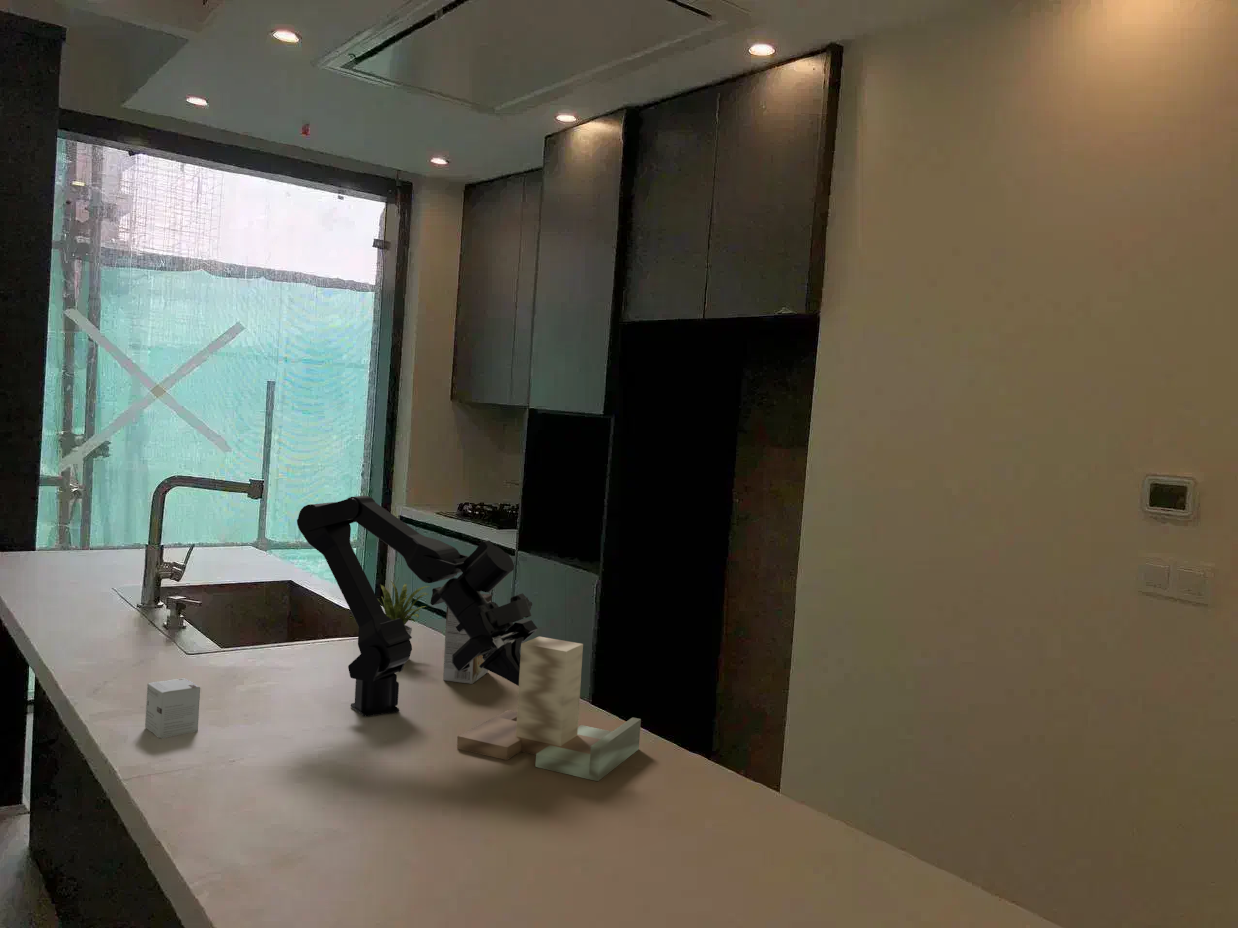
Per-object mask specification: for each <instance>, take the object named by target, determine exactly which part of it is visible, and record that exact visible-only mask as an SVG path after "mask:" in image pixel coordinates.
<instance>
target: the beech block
mask: <svg viewBox="0 0 1238 928" xmlns="http://www.w3.org/2000/svg"><path fill="white" fill-rule="evenodd" d="M583 648H584V643H581V642H574V641H568V640H561V639H557V638H550V637H544V636H540V635H539V636H537V637H534V638H531V639H529V640H525V641H524V642H523V643H521V647H520V655H521V657H520V673H519V686H518V693H517V706H516V707H517V709H516V711H517V723H516V737H521V738H525V739H530V740H534V741H539V742H543V743H548V744H552V745H557V746H562V745H563V744H565V743H566V742H568V741H569V740H571V739H573V738H574V737H576V736H577V733H578V724H579V715H580V702H581V701H580V698H581V685H582V683H581V681H582V670H583V669H582V665H583V652H584V651H583V650H584V649H583Z"/></svg>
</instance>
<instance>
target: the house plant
mask: <svg viewBox="0 0 1238 928" xmlns="http://www.w3.org/2000/svg"><path fill="white" fill-rule="evenodd" d="M390 582H391V585H392V586H393V589H394V598H395V600H394V602H395V603H394V604H393V600H392V594H391V593H390V592H389V591H388V590H387V589H386V587H385V586H384V585H383V584H379V585H380V588H381V590H382V593H383V596H382V595H381V599H382V602H383V604H382V602H381V601H380V600H378V601H379V603H380V604H381V607H382V609H383V611H384V613H385V614H386V615H387V616H388V617H389V618H390V619H392V620H395V619H398V618H401V620H402V621H403V623H404V626H405V629H406V631H407V632H408V634H409V635H410V636H411V637H412V631H413V627H412V626H409V625H407V623H408V622H409V621H410V622H414V623H416V622H415V621H416V620H415V619H414V618H412V617H413V616H414V617H416V618H419V617H420V615H419V614H420V610H421V609H422V608H425V607H427V606H426V605H425V606H420V607H418V608H416V609H414V608H413V607H414V605H415V604H416V602H418V600H420V599H421V598H422V597H423V596H427V595H429V592H421V590H423V589H426V588H429V587H430V585H427V586H426V585H425V586H421V587H419V588H417V589H416V590H415V591H413V592H412V593H411V594H409V593H407V592H408V588H407V585H408V584H407V583H404V584H403V586H402V589H401V592H400V594H399V591H398V589H397V587H396V585H395V584H394V582H393V581H392V580H391V579H390ZM419 592H420V593H419ZM417 593H418V594H417ZM408 595H409V596H408ZM415 595H416V596H415ZM417 596H418V597H417ZM414 599H415V600H414ZM405 601H406V602H405ZM410 604H411V605H410ZM408 607H409V608H408ZM412 611H413V612H412ZM410 612H411V613H410ZM416 612H418V613H416ZM409 613H410V614H409ZM408 614H409V615H408ZM409 640H411V639H409Z"/></svg>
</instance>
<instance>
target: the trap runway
mask: <svg viewBox="0 0 1238 928" xmlns="http://www.w3.org/2000/svg"><path fill="white" fill-rule="evenodd" d="M516 723H517V710H511V709H507V710H506V711H503V712H502V713H500V714H497V715H495V716H493V717H492V718H490V719H488V720H486V721H484V722H482V723H479V724H478V725H476V726H475V727H473V728H471V729H469V730H467V731H464V732H462V733H460V734H459V735H458V736H457V744H456V749H457V750H460V751H465V752H471V753H474V754H475V753H476V754H479V755H483V756H488V757H492V758H497V759H500V760H501V759H502V760H504V761H508V760H509V759H511V758H513V757H515V756H516V755H518V754H520V752H523V753H526V754H532V755H535V764H534V765H535V766H534V767H536V768H539V769H544V770H547V771H548V770H549V771H552V772H557V773H559V774H560V773H561V774H564V775H569V776H574V777H577V778H582V779H587V780H591V781H595V782H600V780H602V779H603V778H604V777H606V776H607V775H608V774H609V773H611V772H612V771H613V770H614V769H616V768H617V767H618V766H619V765H621V764H622V763H623V762H625V761H626V760H627V759H628V758H630V757H631V756H632V755H633V754H635V753H636V752H637V751H639V750H640V740H641V724H642V719H641V718H637V717H631V718H629V719H628V720H627V721H625V722H624V723H622V724H620V726H618V727H616V728H615V729H614V730H612V731H611V730H607V729H603V728H602V729H601V728H598V727H597V728H596V727H592V726H587V725H583V724H579V723H578V733H577V736H576V737H574V738H573V739H571V740H569V741H568V742H566V743H565V744H563V745H562V746H557V745H552V744H548V743H543V742H539V741H534V740H530V739H525V738H521V737H516Z"/></svg>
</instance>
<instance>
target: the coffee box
mask: <svg viewBox="0 0 1238 928" xmlns="http://www.w3.org/2000/svg"><path fill="white" fill-rule="evenodd" d="M481 594H482V596H483V597H484V598H485V600H486V601H487V602H488V603H490V602H493V601H492V600H493V594H487V593H481ZM445 616H446V618H445V637H444V653H443V654H444V655H443V657H444V658H443V674H442V675H443V676H442V678H443V679H442V680H443V681H447V682H455V683H463V684H470V685H472V684H474V683H475V682H477V681H478V680H480V679H481V678H482V677H483V676H485V675H486V674H488V672H489V670H487V669H485V668H480V667H479V666H480V665H481V664H482V663H483V662H484V660H483V658H482V657H483V656H482V655H480V656H478V657H475V658H474V659H473V660H472V661H471V662H470V667H469V668H468V669H466V670H464V671H461V672H459V673H458V671H457V670H456V668H455V667H454V666H453V664H452V655H453V654H454V653H455V652H456V651H457V650H458V649H459V648H461V647H462V646H463V645H464V644H465V643H466V642H467V641H468V640H469V639H470V638H469V636H468V635H467V634H466V632H465V631H461V632H459V631H458V630H457V629H456V627H457V626H458V625H459V622H458V621H457V619H456V618H455V617H454V615H453V614H452V613H451V611H450V610H449V608H448V607H447V606H446V615H445Z"/></svg>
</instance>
